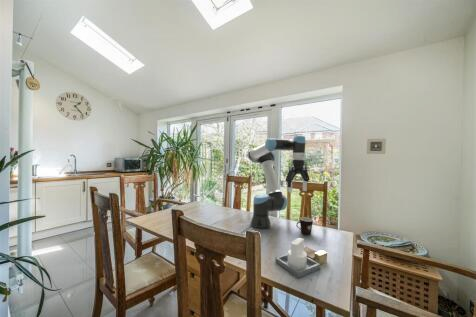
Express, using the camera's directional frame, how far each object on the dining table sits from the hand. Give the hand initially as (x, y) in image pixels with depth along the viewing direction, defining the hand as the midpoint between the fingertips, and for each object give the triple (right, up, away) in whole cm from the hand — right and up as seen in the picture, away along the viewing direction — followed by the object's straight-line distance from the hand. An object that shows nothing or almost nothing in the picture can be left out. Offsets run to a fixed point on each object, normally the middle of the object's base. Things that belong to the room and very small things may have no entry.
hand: (297, 191), depth 134 cm
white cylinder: (-10, -31, -33) cm, 47 cm away
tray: (-10, -32, -33) cm, 47 cm away
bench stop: (+3, -32, -29) cm, 43 cm away
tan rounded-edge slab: (0, -32, -23) cm, 39 cm away
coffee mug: (+7, -31, +8) cm, 33 cm away
